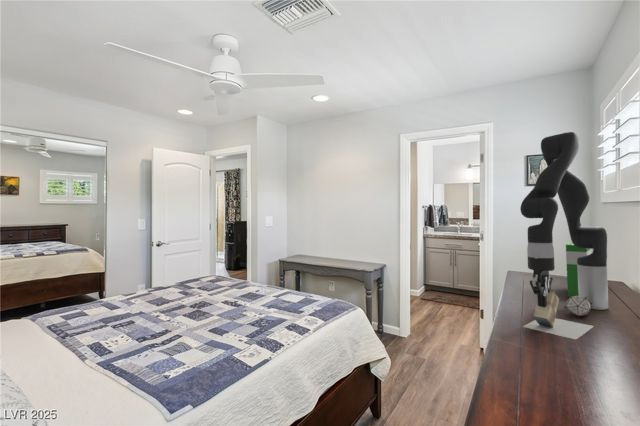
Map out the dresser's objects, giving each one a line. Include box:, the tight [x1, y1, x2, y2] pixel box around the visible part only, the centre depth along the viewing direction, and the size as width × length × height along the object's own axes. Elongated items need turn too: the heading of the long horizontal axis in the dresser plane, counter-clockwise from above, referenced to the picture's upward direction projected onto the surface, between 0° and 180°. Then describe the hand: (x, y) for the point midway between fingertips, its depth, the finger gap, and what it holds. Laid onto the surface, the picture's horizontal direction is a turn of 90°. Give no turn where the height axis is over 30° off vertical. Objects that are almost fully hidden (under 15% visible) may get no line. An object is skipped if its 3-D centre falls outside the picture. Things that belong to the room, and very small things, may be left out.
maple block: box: [533, 289, 560, 328], centre depth 109 cm, size 6×4×11 cm
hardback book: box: [565, 241, 593, 297], centre depth 150 cm, size 18×7×24 cm, turn 134°
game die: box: [563, 294, 594, 319], centre depth 118 cm, size 9×8×10 cm
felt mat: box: [522, 317, 595, 341], centre depth 108 cm, size 18×15×1 cm
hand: (542, 306), depth 107 cm, fingers closed
